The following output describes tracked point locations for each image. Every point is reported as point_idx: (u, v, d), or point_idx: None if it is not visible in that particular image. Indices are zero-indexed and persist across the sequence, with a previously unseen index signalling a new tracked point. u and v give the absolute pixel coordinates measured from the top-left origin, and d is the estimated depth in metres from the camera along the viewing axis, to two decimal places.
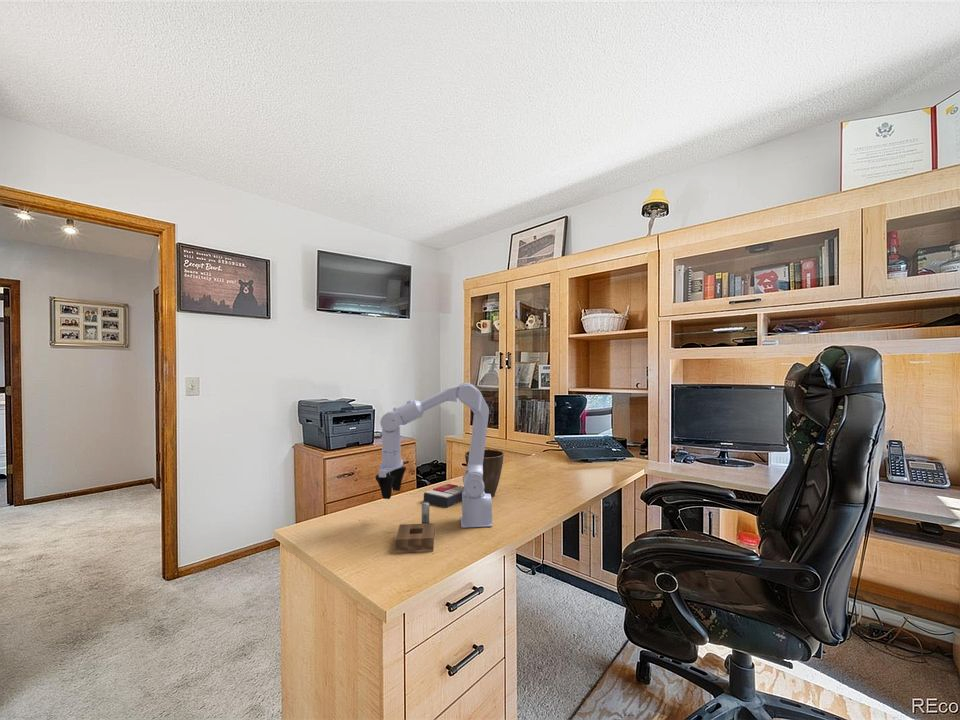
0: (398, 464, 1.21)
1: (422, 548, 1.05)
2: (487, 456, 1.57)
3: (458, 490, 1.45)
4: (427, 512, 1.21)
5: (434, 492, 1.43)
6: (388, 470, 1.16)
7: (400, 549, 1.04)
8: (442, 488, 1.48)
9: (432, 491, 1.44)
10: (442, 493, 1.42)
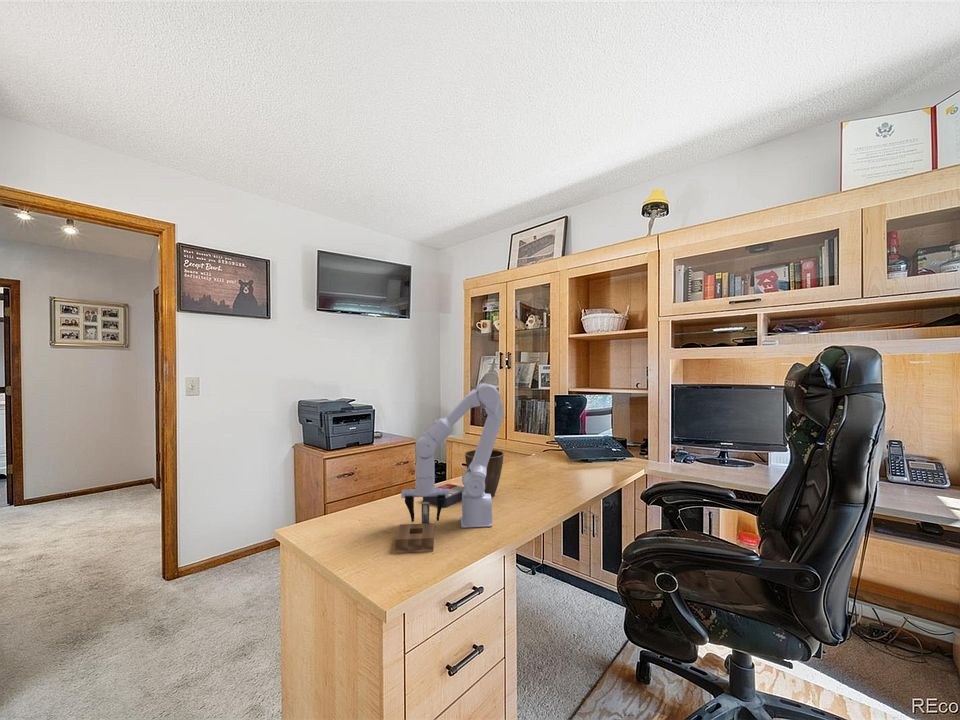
0: (421, 491, 1.19)
1: (422, 548, 1.05)
2: None
3: (457, 490, 1.46)
4: (427, 512, 1.21)
5: None
6: (407, 493, 1.20)
7: (400, 549, 1.04)
8: None
9: None
10: None
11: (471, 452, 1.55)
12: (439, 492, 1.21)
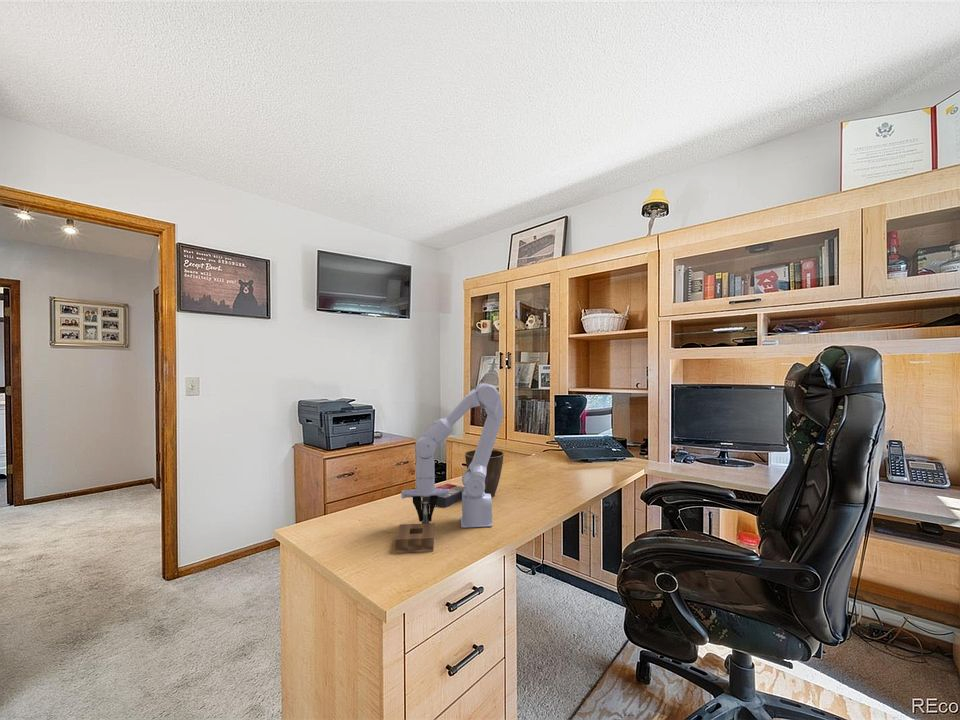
0: (421, 492, 1.19)
1: (422, 548, 1.05)
2: None
3: (457, 490, 1.46)
4: (427, 512, 1.21)
5: None
6: (407, 494, 1.20)
7: (400, 549, 1.04)
8: (441, 488, 1.48)
9: None
10: None
11: (471, 452, 1.56)
12: (439, 492, 1.21)
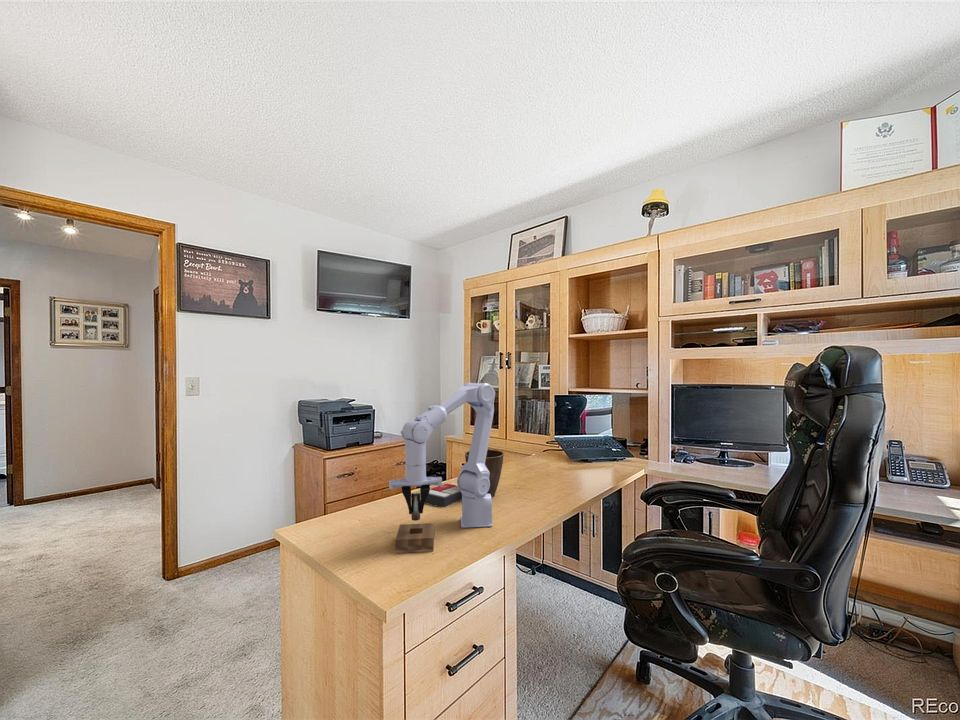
0: (412, 481, 1.07)
1: (422, 548, 1.05)
2: (487, 456, 1.57)
3: (456, 490, 1.46)
4: (418, 503, 1.09)
5: (431, 492, 1.43)
6: (396, 484, 1.07)
7: (400, 549, 1.04)
8: (440, 488, 1.48)
9: (430, 490, 1.45)
10: (439, 493, 1.42)
11: None
12: (432, 481, 1.09)
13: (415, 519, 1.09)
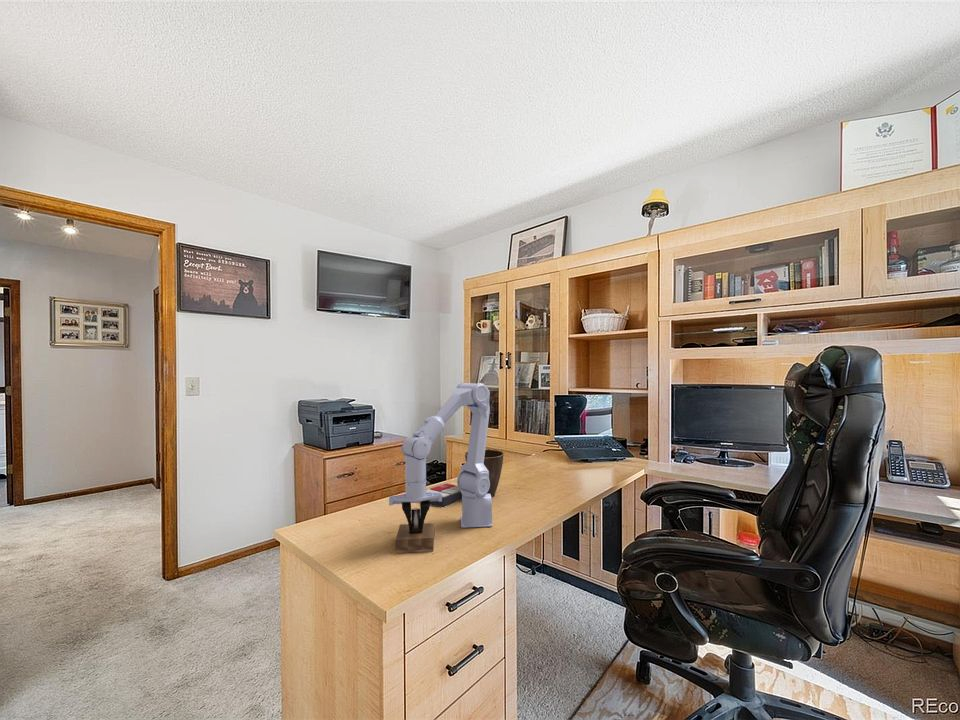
0: (412, 497, 1.07)
1: (422, 548, 1.05)
2: (487, 456, 1.57)
3: (455, 490, 1.46)
4: (418, 519, 1.09)
5: (431, 491, 1.43)
6: (396, 500, 1.07)
7: (400, 549, 1.04)
8: (439, 488, 1.48)
9: (429, 490, 1.45)
10: None
11: None
12: (432, 497, 1.09)
13: None
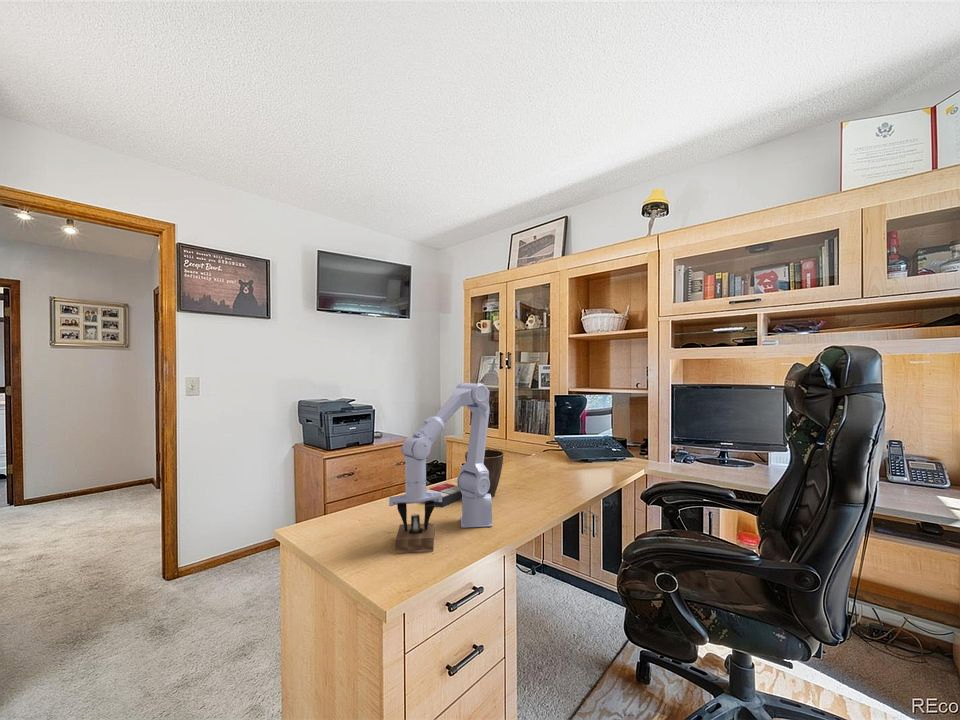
0: (412, 498, 1.07)
1: (422, 548, 1.05)
2: (487, 456, 1.57)
3: (454, 490, 1.46)
4: (418, 525, 1.09)
5: (430, 491, 1.44)
6: (396, 500, 1.07)
7: (400, 549, 1.04)
8: (439, 487, 1.48)
9: (428, 490, 1.45)
10: (438, 492, 1.42)
11: None
12: (432, 497, 1.09)
13: None
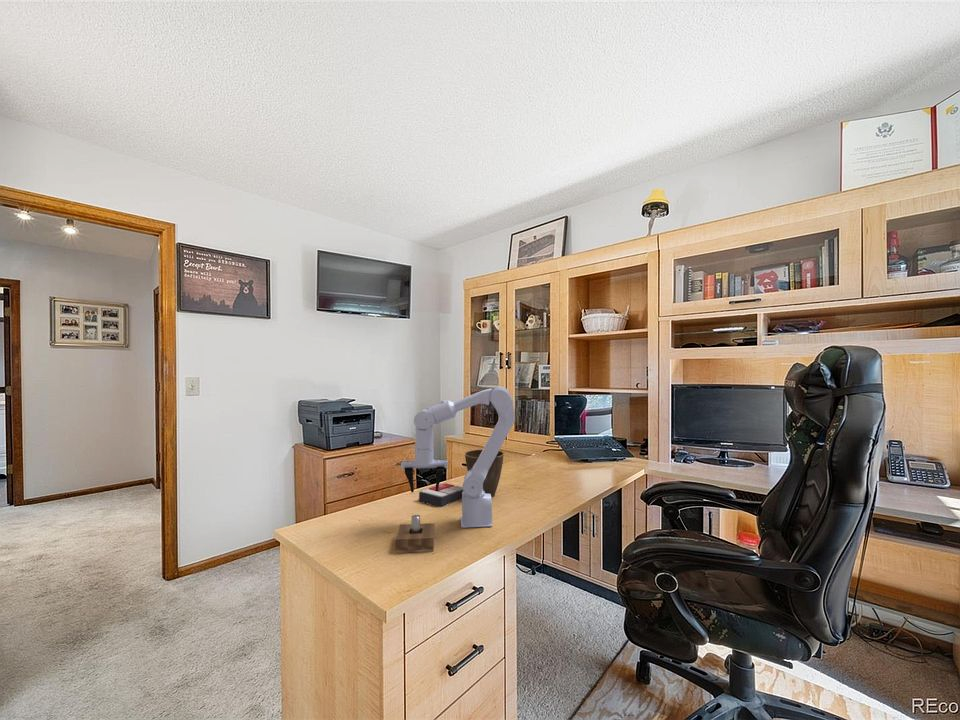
0: (421, 462, 1.22)
1: (422, 548, 1.05)
2: None
3: (453, 490, 1.46)
4: (418, 526, 1.09)
5: (429, 491, 1.44)
6: (407, 465, 1.23)
7: (400, 549, 1.04)
8: (438, 487, 1.48)
9: (427, 490, 1.45)
10: (437, 492, 1.43)
11: (471, 452, 1.55)
12: (438, 463, 1.24)
13: None
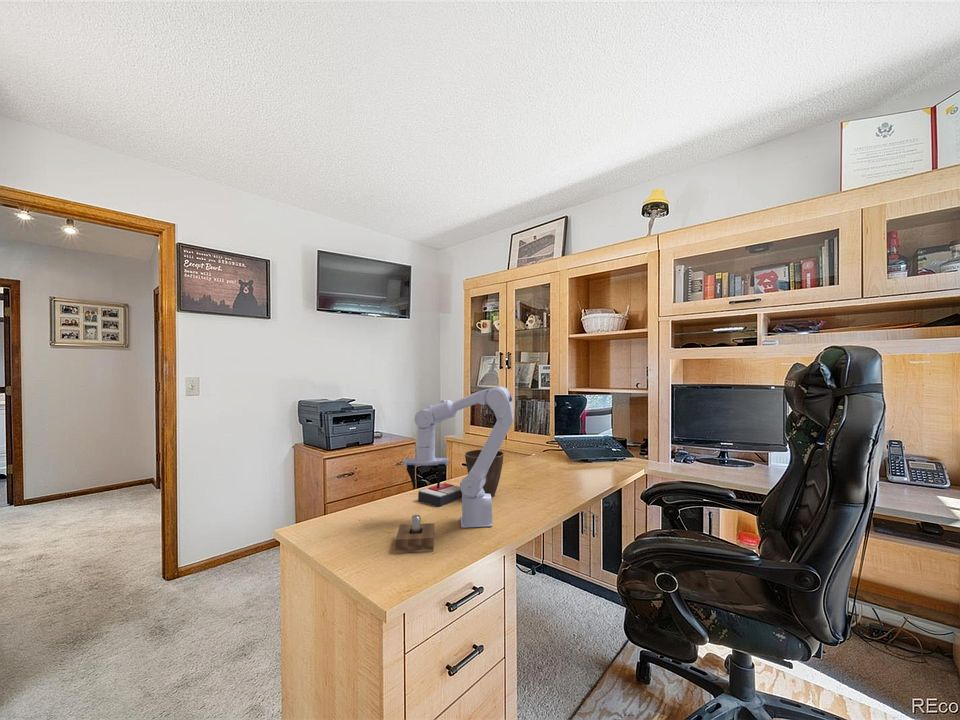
0: (422, 460, 1.25)
1: (422, 548, 1.05)
2: None
3: (453, 490, 1.46)
4: (418, 526, 1.09)
5: (428, 491, 1.44)
6: (409, 462, 1.26)
7: (400, 549, 1.04)
8: None
9: (427, 490, 1.45)
10: (436, 492, 1.43)
11: (471, 452, 1.55)
12: (439, 461, 1.27)
13: None
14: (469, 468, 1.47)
